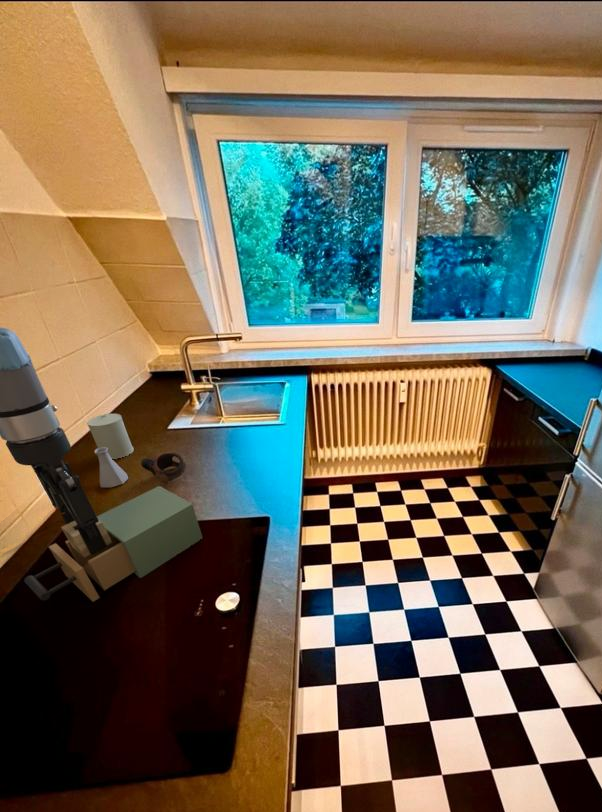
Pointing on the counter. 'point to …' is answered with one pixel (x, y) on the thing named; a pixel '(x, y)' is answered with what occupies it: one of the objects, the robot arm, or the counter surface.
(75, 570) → the drawer
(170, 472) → the pottery mug
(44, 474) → the robot arm
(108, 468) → the flask
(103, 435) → the can
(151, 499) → the cabinet
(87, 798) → the counter surface
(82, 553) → the block
